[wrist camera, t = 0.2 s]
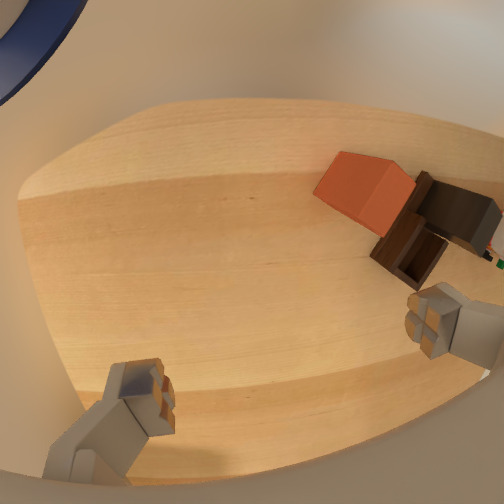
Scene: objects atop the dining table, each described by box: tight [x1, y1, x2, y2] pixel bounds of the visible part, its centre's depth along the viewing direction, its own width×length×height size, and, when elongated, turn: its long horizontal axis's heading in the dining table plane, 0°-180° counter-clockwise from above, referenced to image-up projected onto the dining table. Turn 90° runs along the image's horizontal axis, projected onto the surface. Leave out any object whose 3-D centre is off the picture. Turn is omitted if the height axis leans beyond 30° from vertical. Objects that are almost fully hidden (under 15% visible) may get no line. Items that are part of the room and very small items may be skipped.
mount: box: [370, 171, 503, 292], centre depth 28 cm, size 6×12×10 cm, turn 148°
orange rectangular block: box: [313, 152, 416, 238], centre depth 25 cm, size 3×5×9 cm, turn 148°
